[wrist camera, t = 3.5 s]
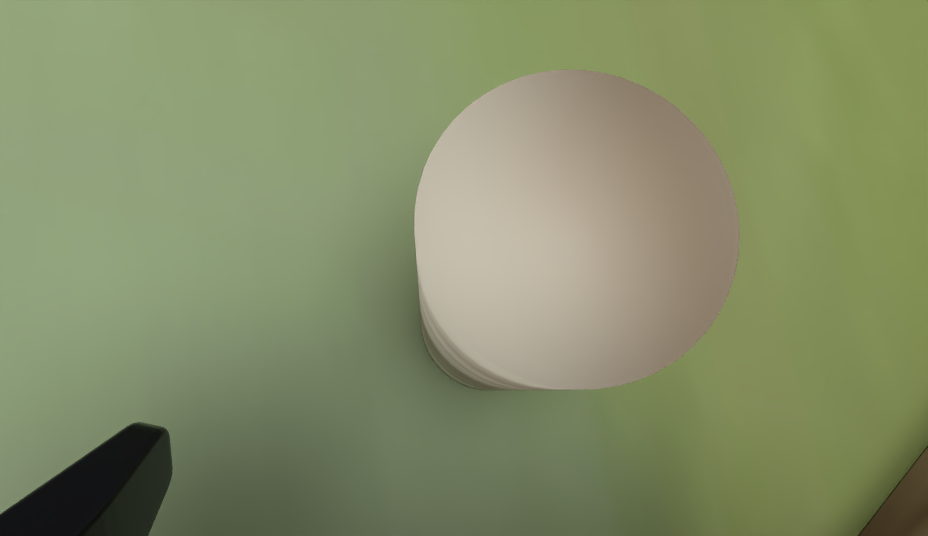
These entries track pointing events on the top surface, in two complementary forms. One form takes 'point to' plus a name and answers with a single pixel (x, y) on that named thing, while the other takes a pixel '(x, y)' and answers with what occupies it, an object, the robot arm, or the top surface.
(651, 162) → the peg
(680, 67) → the top surface
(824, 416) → the top surface
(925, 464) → the brown rectangular frame
